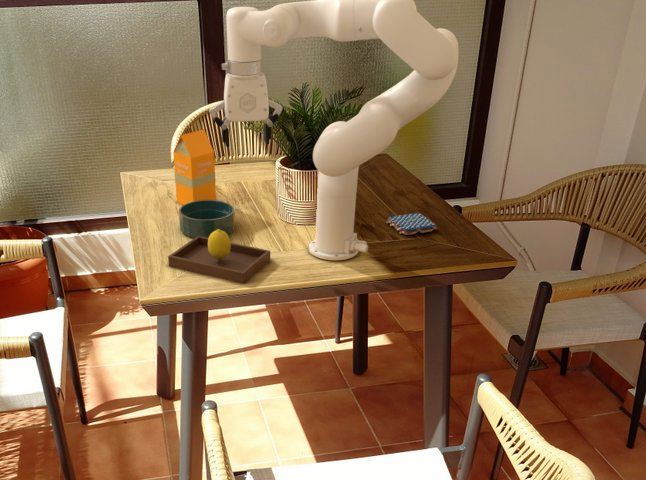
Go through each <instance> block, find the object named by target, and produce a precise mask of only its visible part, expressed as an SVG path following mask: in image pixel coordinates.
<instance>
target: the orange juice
mask: <svg viewBox="0 0 646 480" xmlns="http://www.w3.org/2000/svg"><path fill="white" fill-rule="evenodd" d="M172 153H173V167H174V168H173V169H174V184H175V193H176V194H175V195H176V203H178V204H181V205H182V206H183V205H184V204H187V203H190V202H193V201H199V200H217V191H216V187H217V186H216V165H215V163H216V162H215V150H214V148H213V146H212V143H211V142H210V139H209V137H208V135H207V133H206V131H205V128H203V129H200V130H199V129H198V130H195V131H191V132H187V133H182V134H180V136H179V138H178V141H177V143H176V145H175V147H174V150H173V151H172Z"/></svg>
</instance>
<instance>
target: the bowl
mask: <svg viewBox="0 0 646 480" xmlns="http://www.w3.org/2000/svg"><path fill="white" fill-rule="evenodd" d="M178 217H179V218H178V219H179V228H180V229H179V230H180V232H181V233H182V234H183V235H186V236H188V237H190V238H193V239H194V238H196V237H197V236H202V237H207V238H209V236H210V234H211V233H212V232H214V231H216V230H217V229H220V230H222V231H224V232H225V233H227V235H228V236H229V235H230V234H231V233H232V232H234V230H235V229H236V209H235V207H234V206H233V205H232V204H231V203H229V202H227V201H222V200H219V199H218V200H217V199H216V200H199V201H193V202H190V203H187V204H184V205H183V204H182V205H181V206H180V207H179V209H178Z"/></svg>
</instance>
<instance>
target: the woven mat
mask: <svg viewBox="0 0 646 480" xmlns="http://www.w3.org/2000/svg"><path fill="white" fill-rule="evenodd" d="M432 221H433V220H430V219H429V218H427V216H424V215H423V214H422V213H420V212H414V213H411V212H410V213H408V214H406V213H404V214H399V215H396V214H394V215H393V216H391V215H388V218H387V221H386V224H389V226H390V227H394V229H395V230H396V231H398V232H399V234H402V235H404V236H411V235H415V234H417V233H421V234H424V233H429V232H433V231H436V230H437V229H438V228H437V226H438V225H437V224H436V223H435V222H432Z"/></svg>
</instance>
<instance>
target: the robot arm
mask: <svg viewBox="0 0 646 480" xmlns="http://www.w3.org/2000/svg"><path fill="white" fill-rule="evenodd" d="M225 19H226V43H227V44H226V45H227V46H226V47H227V61H226V62H224V63H221V70H222V71H226V72H228V73H226V74H225V78H224V89H223V100H222V101H220V102H219V103H218V104H215V105H214V106H212V107H210V108H209V109H208V112H209V114H210V116H211V118H212V120H213V121H214V123H215V124H216V125H218V126H219V128H221V141H222V143H224V145H225V147H227V148H228V147H230V130H229V128H228V127H229V125H230V124H231V123H239V122H240V123H244V122H259V121H263V122H264V125H263V141H264V143H265V145H270V140H272V127H273V126H274V124H275V123H276V122H277V121H278V119H279V118H280V115H281V113H282V111H283V109H284V108H283V106H282V105H281V104H279V103H278V102H275V101H274V100H271V99H269V91H268V84H267V83H268V82H267V78H266V74H265V73H264V72H263V71H262V46H263V47H268V48H280V47H282V46H284V45H285V44H287V43H288V42H289V41H290V40H295V39H304V38H318V37H320V38H328V39H331V40H333V41H335V42H342V43H345V42H355V41H365V40H366V41H367V40H377V39H379V40H381V41H382V43H383V44H385V46H387V47H388V48H389V50H390V51H392V52H393V53H394V54H395V55H396V56H397V57H399V58H400V59H401V60H402V61H404V63H406V64H407V65H408V66H409V67H410V68H411V69H412V71H411V73H409V74H408V75H407V76H406V77H405V78H403V79H402V80H400V81H399V82H398V83H396V84H395V85H393V86H392V87H390V88H389V89H386V90H385V91H384V92H382V93H381V94H379V95H377V96H375V97H374V98H372V99H371V100H368V101H367V102H366V103H365V104H364V105H363V106H362V107H361V109H360V110H359V112H358V113H357V114H356V115H355V116H353V117H352V118H350V119H349V120H347V121H344V120H340V121H338V120H337V121H335V122H332V123H331V124H329V125H328V126H326V127H325V129H324V130H323V131H322V132H321V134H320V136H319V137H318V139H317V141H316V143H315V145H314V147H313V150H312V162H313V164H314V166H315V168H316V170H317V171H318V172H317V176H318V188H317V209H316V216H315V235H314V240H312V241H310V242H309V245H308V252H309V253H310V254H311V256H314V257H316V258H318V259H321V260H325V261H345V260H349V259H353V258H354V257H356V256H357V255H358V254H359V252H361V253H365V254H366V253H368V251H369V245H368V242H367V241H366V240H359V239H358V233H356V232H354V230H355V217H356V203H357V192H358V179H359V169H360V166H361V165H363V164H364V163H366V162H367V161H369V160H371V159H372V158H374V157H376V156H377V155H379V154H381V153H382V152H383V151H385V150H386V149H387V148H389V146H390V145H391V144H392V143H393V142H394V140H395V139H396V136H397V134H398V132H399V131H400V130H401V129H402V128H403V127H404V126H406V125H408V124H410V123H411V122H412V121H414V120H415V119H417V118H419V116H421V115H423V114H425V112H427V111H428V110H430V109H431V108H432V107H434V106H435V105H436V104H437V103H438V102H439V101H440V100H441V99H442V98H443V97H444V95H446V93H447V91H448V90H449V88H451V87H450V86H451V85H452V83H453V81H454V79H455V76H456V73H457V70H458V66H459V65H458V64H459V55H460V53H459V49H460V47H459V41H458V39H457V37H456V35H455V34H454V33H453V32H452V31H451V30H449V29H446V28H443V27H439V28H436V27H435V26H433V25H432V24H431V23H430V22H429V21H427V19H425V17H424V16H422V15H421V13H419V12H418V11H417V5H416V2H415V1H414V0H303V1H294V2H293V1H292V2H286V3H279V4H276V5H273V6H272V7H271V8H268V9H264V10H259V9H258V8H256V7H253V6H236V7H235V6H234V7H230V8H229V9H228V10H227V12H226V18H225ZM269 107H270V108H272V109H274V112H273V113H272V114H271V115H270V108H269ZM222 110H223V114H224V116H223V118H222V119H221V118H220V117H219V116H218V114H217V113H219V112H220V111H222ZM269 115H270V116H269Z"/></svg>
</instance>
